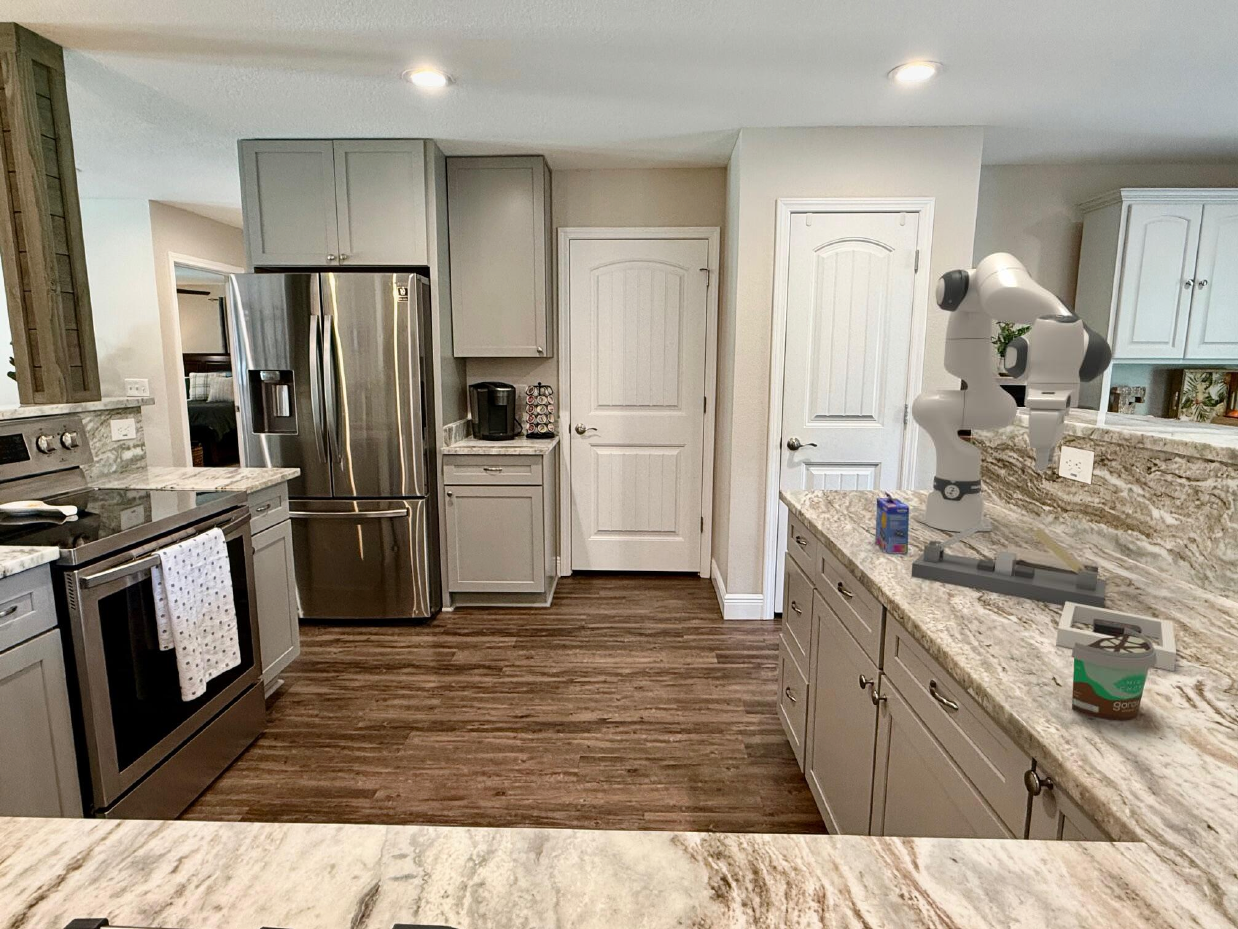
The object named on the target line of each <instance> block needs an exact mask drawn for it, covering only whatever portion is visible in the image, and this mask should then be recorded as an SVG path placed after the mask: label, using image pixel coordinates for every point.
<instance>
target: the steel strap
mask: <svg viewBox="0 0 1238 929" xmlns="http://www.w3.org/2000/svg"><path fill="white" fill-rule="evenodd" d="M985 526H986V523H985V522H984V521H983V520H982V521H980V522H978V523H976V524H974V525H973V526H971V527H969V528H967V529H965V530H964V531H962V532H958V533H956V534H955V535H953V536H951V537H950V538H948V539H945V540H944V541H941V542H942V543H940V544H938V545H934V546H936V547H940V551H942V550H943V549H944V550H945V549H947V548H949V547H950V546H952V545H955V544H956V543H958V542H960V541H962V540H963V539H965V538H967V537H969V536H971V535H973V534H974V533H976V532H979V531H978V530H980V529H982V528H984V527H985Z"/></svg>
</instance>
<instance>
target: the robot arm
mask: <svg viewBox="0 0 1238 929" xmlns="http://www.w3.org/2000/svg"><path fill="white" fill-rule="evenodd" d="M934 294H935V299H936V300H935V301H936V304H937V306H938V307H939V308H940V310H942V311H946V312H950V313H949V317H948V320H947V326H946V332H945V343H944V345H945V346H944V357H943V358H944V359H943V367H944V369H945V370H946V372H947V373H949V374H950V375H952V376H953V377H956V378H958V379H960V380H963V381H964V382H965V383H966V385H967V388H966V389H962V390H961V389H959V390H957V389H956V390H955V389H948V390H947V389H937V390H932V391H925V392H924V391H923V392H920V393H919V394H918V395H917V396H916V398H915V399H914V400H913V402H912V406H911V415H912V418H913V420H914V422H915V423H916V424H917V425H918V426H919V427H921V428H922V429H923V430H924V431H926V432H927V434H928V435H929V437H930V438H931V440H932V442H933V444H934V448H935V456H936V457H935V458H936V464H935V466H936V467H935V468H936V469H935V475H934V477H933V480H932V481H933V482H932V483H933V485H932V488H933V490H932V491H931V492H930V493H929V494H927V496H926V502H925V510H924V515H922V516H920V517H918V522H920V523H923V524H926V525H927V526H929V527H930V528H935V529H938V530H944V531H949V532H958V533H960V532H962V531H964V530H965V529H967V528H969V527H971V526H973V525H974V524H976V523H978V522H980V521H982V520H983V521H984V522H985V523H986V526H985V527H984V528H982V529H980V530H978V531H977V532H992V526H991V520H990V516H988V515H987V512H985V502H986V501H985V500H984V499H983V497H982V495H981V492H982V480H981V465H982V452H981V450H980V449H979V448H978V447H977V446H976V445H974V444H972V443H970V442H968V441H966V440H964V439H962V438H960V436H959V435H958V431H961V430H969V431H993V430H1001V429H1006V428H1008V427H1009V426H1010V425H1011V424H1012V423H1013V422H1014V421H1015V419H1016V417H1017V413H1018V405H1017V403H1016V402H1017V401H1016V400H1015V398H1014V396H1012V395H1011V394H1010V393H1008V391H1006V390H1004V389H1003V388H1002V387H1001V386H1000V384H998V382H997V381H996V379H995V377H994V374H993V371H992V367H991V349H992V348H991V345H992V332H993V331H992V328H993V327H992V325H993V324H992V320H993V319H994V320H996V321H998V322H1001V323H1005V324H1006V323H1007V324H1019V325H1026V326H1032V328H1031V329H1030V330H1029V331H1027V332H1026V333H1024V334H1022V335H1018V336H1016V337H1015V338H1014V339H1012V340H1011V341H1010V342H1009V343H1008V344H1007V345H1006V346H1005V350H1004V355H1003V356H1004V357H1003V368H1004V370H1005V372H1006V373H1007V374H1008V375H1009V376H1010V377H1011V378H1013V379H1015V380H1020V381H1026V382H1025V383H1026V385H1025V392H1024V393H1025V396H1024V403H1023V404H1024V406H1025V408H1026V409H1028V442H1029V446H1030V448H1032V449H1035V469H1036V470H1038V471H1046V470H1047V469H1048V465H1050V466H1051V465H1052V464H1054V459H1055V453H1056V448H1057V444H1059V443H1060V442H1061V441H1062V440H1063V438H1064V430H1065V420H1066V416H1067V417H1068V416H1070V409H1071V408H1078V407H1079V398H1080V390H1081V383H1087V384H1088V383H1091V382H1092V381H1094V380H1095V379H1097V378H1098V377H1100V376H1101V375H1102V374H1104V373H1105V371H1107V369H1108V368H1109V366H1110V364H1111V361H1112V350H1111V346H1110V344H1109V342H1108V341H1107V340H1106V339H1105V338H1104V337H1103V336H1102V335H1101V334H1100V333H1099V332H1096V331H1094V330H1092V329H1091V328H1090V327H1089V326H1088V325H1087V324H1086V323H1085V321H1083V320H1082V318H1081V317H1080V316H1079V315H1078V314H1077V312H1075V311H1074V309H1073V308H1072V307H1071V306H1070V305H1069V304H1068V303H1067V302H1066V301H1065V300H1064V299H1063V298H1061V297H1060V296H1058V295H1056V294H1054V293H1053V292H1051V291H1050V290H1047V289H1045V288H1044V287H1042V286H1041V285H1040V284H1039V283H1038V282H1036V281H1035V280H1034V279H1033V278H1032V275H1031V273H1030V272H1029V270H1027V268H1026V267H1025V266H1024V265H1023V264H1022V262H1021V261H1020V260H1019V259H1018V258H1016V257H1015V256H1014V255H1012V254H1010V253H1008V252H995V253H991V254H989V255H988V256H986V257H984V258H983V259H982V260H981V261H980V262H979V264H978V265H977V266H976V268H969V269H954V270H949V271H947V272H945V273H944V274H943V275H942V276H940V277H939V279H938V282H937V284H936V287H935V293H934Z"/></svg>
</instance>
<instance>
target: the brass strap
mask: <svg viewBox="0 0 1238 929" xmlns="http://www.w3.org/2000/svg"><path fill="white" fill-rule="evenodd" d="M1032 535H1033V536H1034V537H1035V538H1036V539H1037V540H1039V541H1040V542H1041V543H1042V544H1043V545H1045V547H1047V548H1048V549H1049V550H1050V551H1051V552H1052V553H1053V554H1055V555H1057V556H1058V557H1059V558H1060V559H1062V560H1063V561H1064V562H1065V563H1066V564H1067V565H1068V566H1070V567H1071V568H1072V569H1073V570H1074V571H1075V572H1076V573H1077V574H1078V569H1079V570H1085V571H1091V570H1088V569H1087V568H1086V567H1084V566H1083V565H1082V564H1081V563H1080V562H1079V561H1078V560H1076V559H1077V558H1075V556H1074V555H1072V554H1071V553H1069V552H1068V550H1066V549H1065V548H1064V547H1062V545H1060V544H1059V543H1058V542H1057V541H1056V540H1054V538H1053V537H1051V535H1049V534H1048V533H1047V532H1046V531H1044V530H1043V529H1042V528H1041V527H1038V528H1037V529H1035V531H1034V532H1033V534H1032ZM1091 572H1092V571H1091Z"/></svg>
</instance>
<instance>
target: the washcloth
mask: <svg viewBox="0 0 1238 929" xmlns="http://www.w3.org/2000/svg"><path fill="white" fill-rule="evenodd" d="M1003 551H1004V552H1011V553H1017V558H1016V565H1017V566H1018V565H1019V566H1025V567H1031V568H1035V569H1041V570H1047V571H1053V572H1059V573H1065V574H1071V575H1077V576H1078V574H1077V573H1076V572H1075V571H1074V570H1073V569H1072V568H1071V567H1070V566H1068V565H1067V564H1066V563H1065V562H1064V561H1063V560H1062V559H1060V558H1059V557H1058V556H1057V555H1056V554H1055V553H1049V552H1043V551H1037V550H1034V549H1033V550H1031V549H1027V548H1024V547H1023V548H1022V547H1018V546H1010V547H1005V549H1004V550H1003ZM999 553H1000V552H999ZM999 553H996V554H995V555H993V556H992V557H993V560H992V561H994V562H996V557H997V556H998V554H999ZM1075 559H1076V560H1078V561H1079V562H1080V563H1081V564H1086V565H1093V566H1094V564H1093V563H1092V562H1090V561H1087V560H1084V559H1079V558H1075Z"/></svg>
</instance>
